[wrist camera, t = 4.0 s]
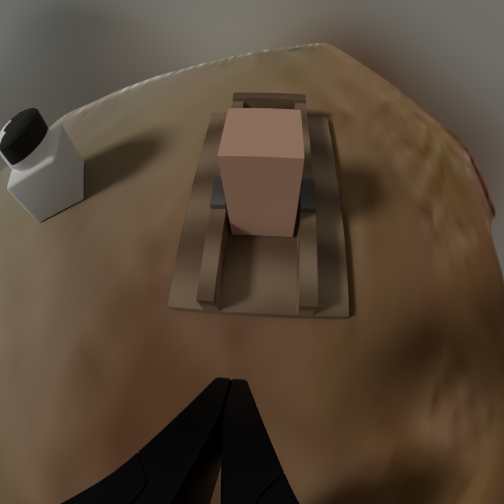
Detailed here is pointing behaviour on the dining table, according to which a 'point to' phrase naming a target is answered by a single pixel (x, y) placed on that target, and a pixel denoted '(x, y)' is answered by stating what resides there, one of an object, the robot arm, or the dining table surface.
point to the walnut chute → (265, 247)
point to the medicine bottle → (41, 165)
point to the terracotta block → (262, 169)
